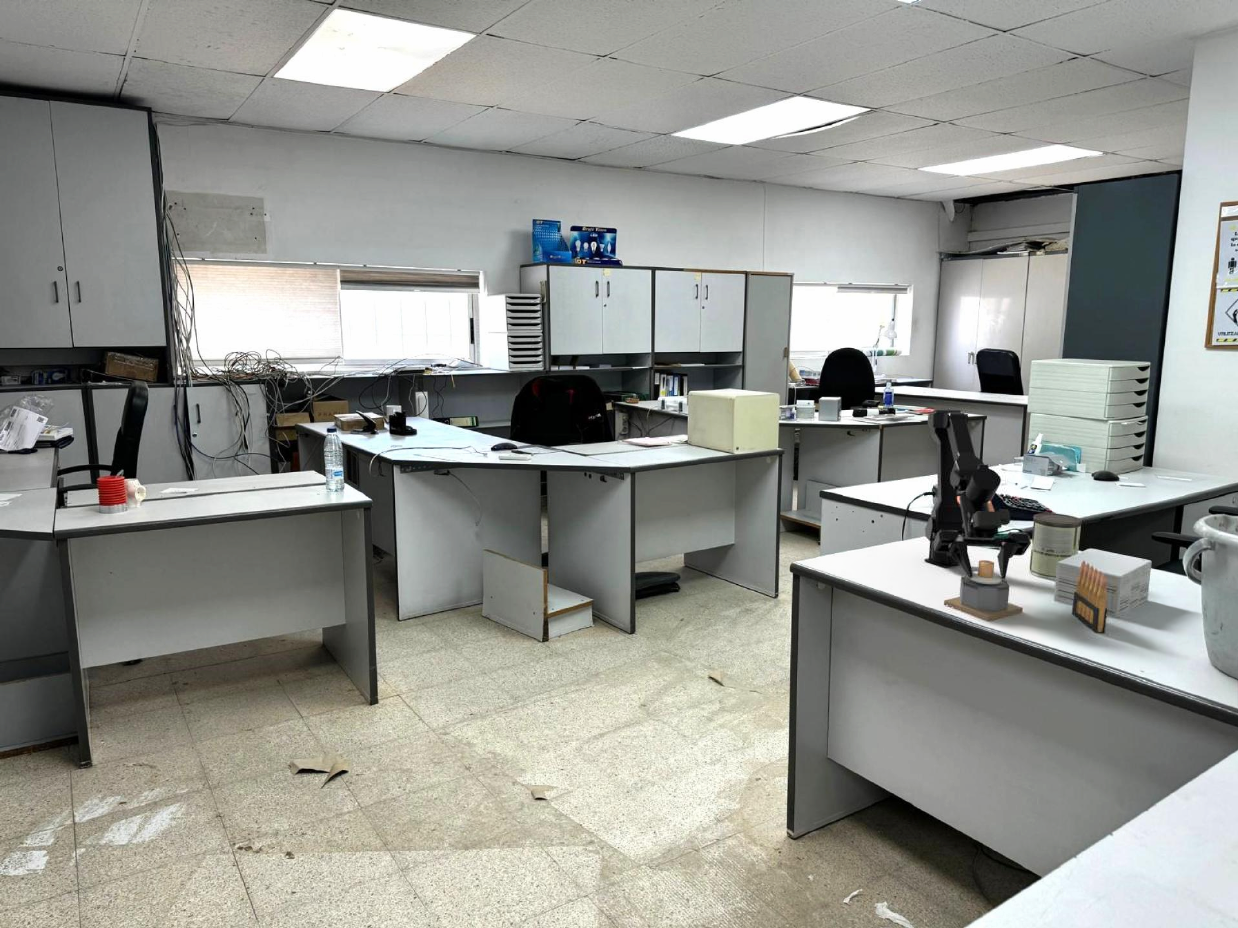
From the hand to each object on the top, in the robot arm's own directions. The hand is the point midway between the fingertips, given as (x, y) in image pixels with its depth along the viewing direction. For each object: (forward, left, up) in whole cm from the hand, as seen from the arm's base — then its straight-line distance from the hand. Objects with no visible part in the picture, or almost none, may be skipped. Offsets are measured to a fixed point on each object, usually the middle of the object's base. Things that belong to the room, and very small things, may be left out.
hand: (987, 577), depth 173 cm
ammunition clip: (+15, +12, -8) cm, 21 cm away
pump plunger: (-1, +1, -6) cm, 6 cm away
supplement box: (+8, +28, -8) cm, 30 cm away
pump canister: (-1, +1, -7) cm, 7 cm away
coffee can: (-9, +36, -8) cm, 38 cm away
